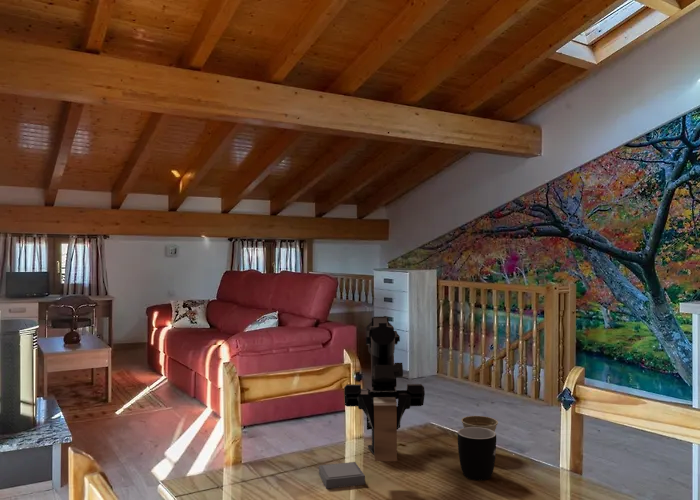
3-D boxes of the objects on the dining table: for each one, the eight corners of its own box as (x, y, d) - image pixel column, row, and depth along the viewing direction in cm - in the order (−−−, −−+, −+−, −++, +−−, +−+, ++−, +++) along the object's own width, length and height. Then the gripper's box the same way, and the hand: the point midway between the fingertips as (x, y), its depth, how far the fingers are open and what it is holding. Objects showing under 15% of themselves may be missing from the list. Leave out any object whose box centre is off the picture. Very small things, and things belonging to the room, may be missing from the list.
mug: (499, 483, 130) (499, 439, 130) (460, 482, 131) (459, 438, 131) (491, 464, 142) (490, 423, 142) (454, 463, 143) (454, 423, 143)
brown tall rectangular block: (374, 453, 133) (373, 397, 133) (396, 453, 132) (395, 397, 133) (374, 461, 127) (373, 402, 128) (397, 461, 127) (396, 402, 128)
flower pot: (501, 450, 152) (501, 417, 152) (494, 462, 144) (494, 427, 144) (466, 445, 156) (466, 414, 156) (457, 456, 148) (457, 423, 148)
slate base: (318, 473, 137) (318, 464, 137) (355, 470, 139) (355, 461, 139) (326, 488, 128) (326, 479, 128) (364, 484, 130) (364, 474, 130)
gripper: (344, 350, 134) (342, 410, 123) (423, 349, 134) (429, 409, 123) (345, 376, 142) (344, 435, 131) (420, 376, 142) (425, 434, 131)
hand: (385, 428), depth 129 cm, fingers closed on brown tall rectangular block, 5 cm apart
